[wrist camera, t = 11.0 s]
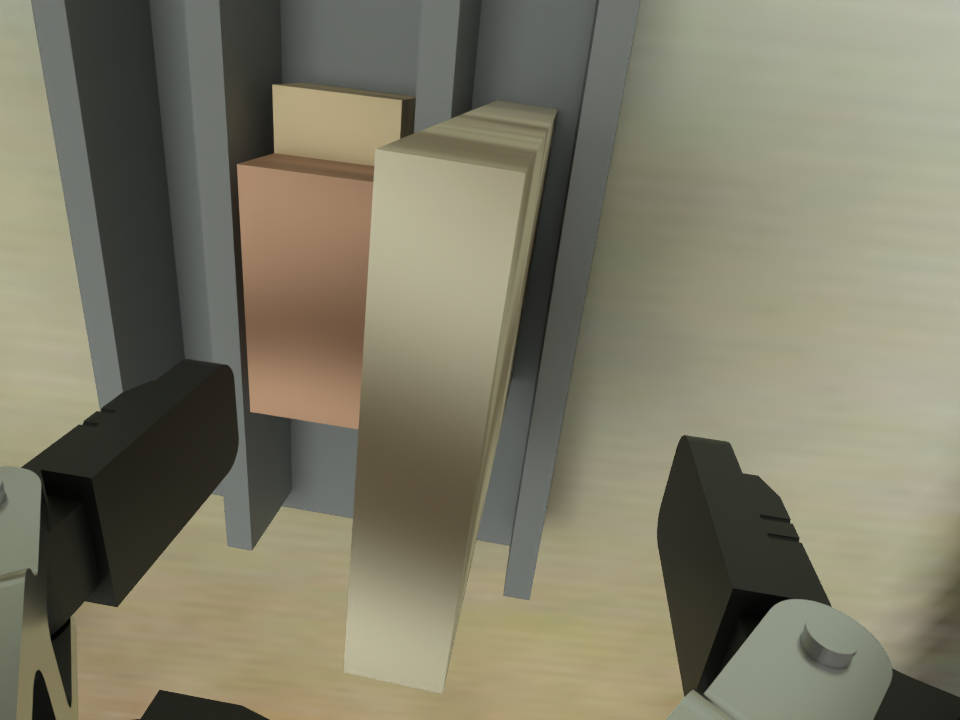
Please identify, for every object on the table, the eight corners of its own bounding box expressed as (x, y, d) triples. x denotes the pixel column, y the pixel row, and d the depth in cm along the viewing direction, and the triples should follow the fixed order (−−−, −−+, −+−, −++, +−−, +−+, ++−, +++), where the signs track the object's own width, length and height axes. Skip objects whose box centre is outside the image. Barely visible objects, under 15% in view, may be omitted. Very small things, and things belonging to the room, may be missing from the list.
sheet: (498, 99, 21) (375, 149, 8) (558, 108, 21) (525, 172, 8) (461, 371, 25) (343, 672, 13) (511, 380, 25) (442, 693, 13)
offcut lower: (303, 82, 22) (272, 84, 19) (420, 96, 21) (402, 100, 19) (306, 305, 25) (279, 328, 23) (406, 320, 25) (390, 345, 23)
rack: (125, -220, 20) (-23, -314, 15) (658, -174, 19) (688, -259, 14) (195, 469, 31) (123, 546, 26) (533, 527, 30) (525, 619, 25)
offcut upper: (274, 153, 20) (236, 164, 18) (398, 169, 20) (376, 182, 18) (281, 379, 24) (250, 411, 21) (387, 395, 23) (367, 430, 21)
